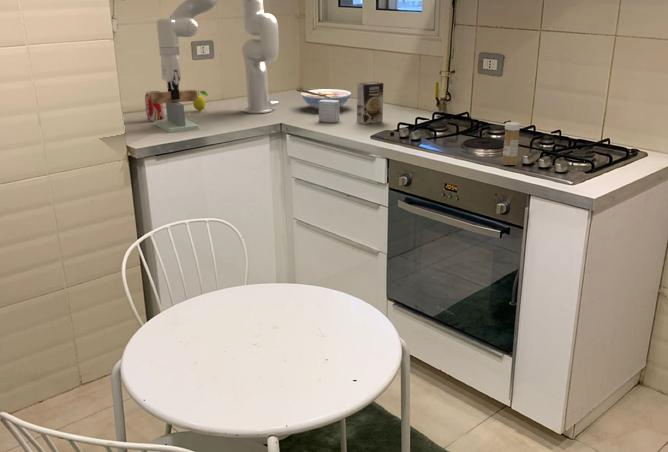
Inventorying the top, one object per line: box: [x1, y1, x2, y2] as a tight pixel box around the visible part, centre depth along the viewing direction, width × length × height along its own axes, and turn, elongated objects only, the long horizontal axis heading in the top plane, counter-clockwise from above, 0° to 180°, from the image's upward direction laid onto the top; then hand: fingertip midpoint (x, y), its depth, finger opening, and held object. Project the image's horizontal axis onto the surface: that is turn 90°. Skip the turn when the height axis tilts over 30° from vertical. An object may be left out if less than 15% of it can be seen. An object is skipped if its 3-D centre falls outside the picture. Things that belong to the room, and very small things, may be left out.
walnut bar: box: [151, 89, 198, 104], centre depth 261 cm, size 18×3×4 cm, turn 122°
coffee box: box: [356, 81, 384, 125], centre depth 267 cm, size 9×6×16 cm
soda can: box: [144, 90, 165, 122], centre depth 276 cm, size 7×7×12 cm
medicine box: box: [318, 100, 341, 123], centre depth 271 cm, size 8×4×9 cm, turn 71°
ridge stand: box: [154, 102, 200, 134], centre depth 264 cm, size 12×19×10 cm, turn 32°
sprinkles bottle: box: [501, 121, 521, 165], centre depth 204 cm, size 5×5×13 cm
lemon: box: [192, 90, 209, 112], centre depth 294 cm, size 7×6×10 cm
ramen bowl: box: [296, 88, 352, 110], centre depth 297 cm, size 25×23×8 cm
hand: (174, 98), depth 261 cm, fingers closed on walnut bar, 3 cm apart
